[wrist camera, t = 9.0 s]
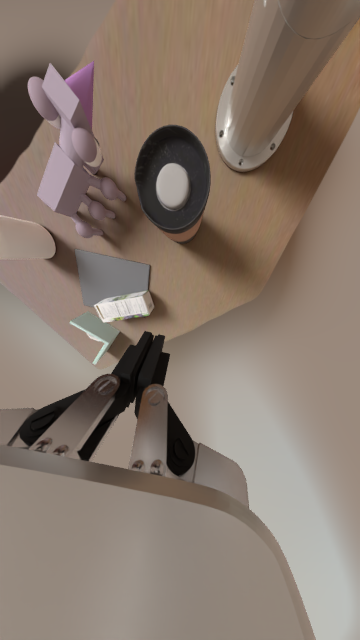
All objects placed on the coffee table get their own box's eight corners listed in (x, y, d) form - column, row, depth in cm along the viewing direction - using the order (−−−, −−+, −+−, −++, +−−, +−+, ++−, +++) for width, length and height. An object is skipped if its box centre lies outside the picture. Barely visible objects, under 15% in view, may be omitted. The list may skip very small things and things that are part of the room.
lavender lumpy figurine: (107, 105, 23) (24, -50, 11) (152, 167, 26) (126, 100, 15) (63, 206, 30) (-17, 178, 18) (103, 244, 34) (59, 242, 22)
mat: (76, 249, 34) (74, 248, 33) (149, 265, 34) (149, 265, 34) (84, 304, 41) (83, 305, 41) (145, 316, 42) (145, 317, 41)
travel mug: (205, 221, 29) (229, 169, 12) (185, 251, 32) (180, 247, 15) (178, 196, 28) (159, 90, 10) (160, 230, 31) (120, 197, 13)
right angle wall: (89, 310, 43) (70, 320, 36) (120, 330, 46) (109, 343, 39) (78, 333, 48) (60, 346, 41) (107, 350, 50) (95, 364, 44)
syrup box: (154, 307, 40) (113, 315, 42) (148, 289, 37) (104, 298, 39) (149, 315, 34) (102, 323, 37) (142, 294, 32) (92, 305, 34)
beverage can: (23, 216, 31) (-62, 196, 21) (57, 231, 32) (-9, 219, 22) (28, 251, 35) (-43, 249, 24) (58, 263, 36) (3, 266, 25)
